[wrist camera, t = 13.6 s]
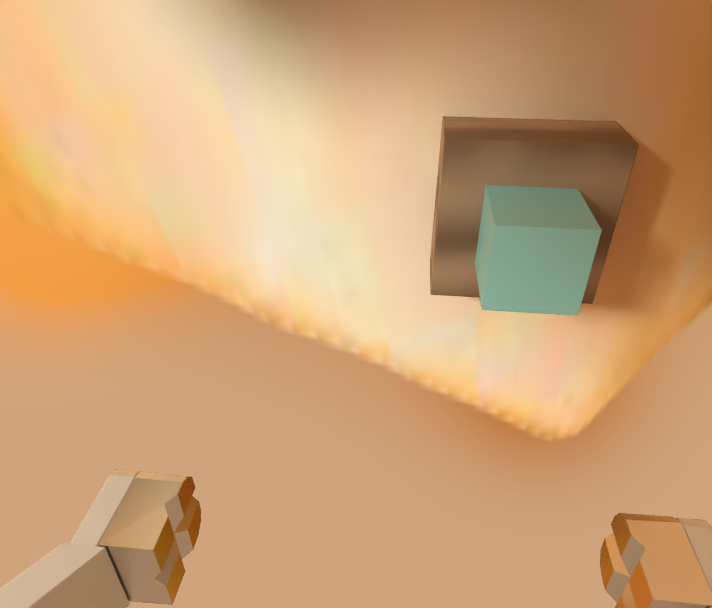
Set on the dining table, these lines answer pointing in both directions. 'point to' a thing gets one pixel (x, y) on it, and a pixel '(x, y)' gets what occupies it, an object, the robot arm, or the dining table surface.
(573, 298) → the teal cube
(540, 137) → the walnut base
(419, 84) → the dining table surface
